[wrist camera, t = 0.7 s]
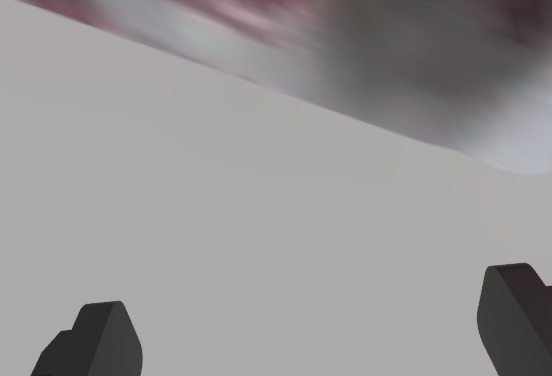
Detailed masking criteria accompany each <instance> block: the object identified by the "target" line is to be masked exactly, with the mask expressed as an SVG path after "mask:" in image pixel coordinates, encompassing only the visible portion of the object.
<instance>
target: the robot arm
mask: <svg viewBox="0 0 552 376" xmlns="http://www.w3.org/2000/svg"><path fill="white" fill-rule="evenodd" d="M477 324H478V330H479V334H480V337H481V340H482V342H483V344H484V346H485V348H486V351H487V353H488V355H489V357H490V359H491V360H492V362H493V365H494V367H495V369H496V371H497V373H498V375H499V376H552V286H545V284H544V283H543V281H542V280H541V279H540V277H539V276H538V274H537V273H536V272H535V270H534V269H533V268H532V267H531V266H530V265H529V264H527V263H517V264H506V265H496V266H489V267H488V268H487V269H486V272H485V276H484V281H483V286H482V291H481V297H480V302H479V306H478V311H477ZM142 359H143V358H142V348H141V344H140V341H139V339H138V336H137V334H136V332H135V329H134V327H133V325H132V323H131V320H130V318H129V315H128V313H127V311H126V308H125V306H124V304H123V303H122V302H121V301H112V302H102V303H91V304H85V305H84V306H83V307H82V308H81V310H80V312H79V314H78V316H77V318H76V321H75V323H74V325H73V328H72V330H67V331H66V330H65V331H60V333H59V334H58V335H57V336H56V337H55V338H54V339H53V340H52V341H51V343H50V344H49V345H48V346H47V347H46V348H45V349H44V350H43V352H42V353H41V355H40V357H39V359H38V361H37V364H36V366H35V368H34V370H33V372H32V374H31V376H140V375H141V370H142Z"/></svg>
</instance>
